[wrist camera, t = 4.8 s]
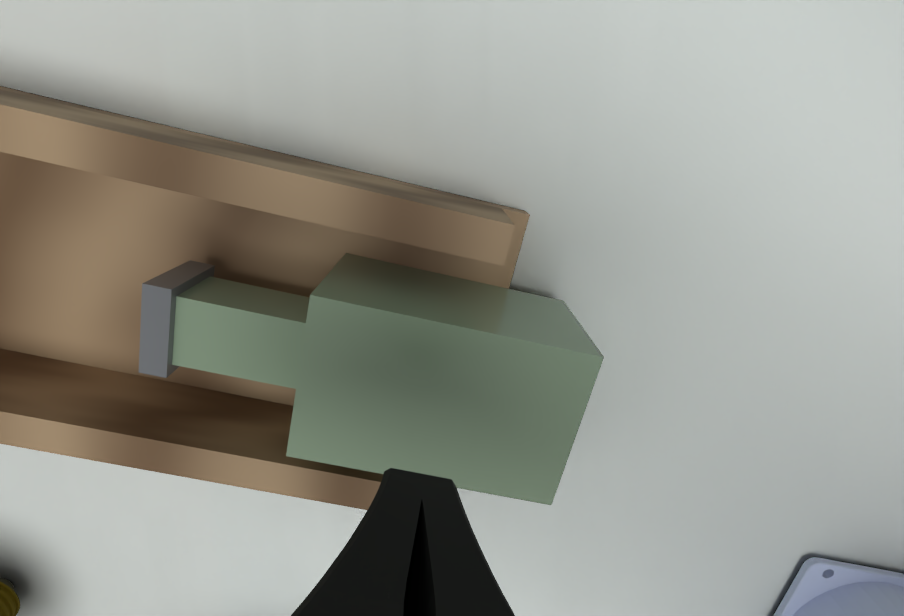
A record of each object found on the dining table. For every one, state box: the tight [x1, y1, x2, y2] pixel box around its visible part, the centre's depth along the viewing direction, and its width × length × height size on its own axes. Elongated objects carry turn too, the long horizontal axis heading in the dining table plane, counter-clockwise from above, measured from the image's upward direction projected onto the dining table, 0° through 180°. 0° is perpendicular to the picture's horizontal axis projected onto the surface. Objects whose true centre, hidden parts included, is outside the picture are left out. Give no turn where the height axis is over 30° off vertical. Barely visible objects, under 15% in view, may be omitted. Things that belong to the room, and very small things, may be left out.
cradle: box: [0, 86, 530, 510], centre depth 17 cm, size 21×10×5 cm, turn 77°
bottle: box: [139, 253, 604, 505], centre depth 16 cm, size 5×5×13 cm
